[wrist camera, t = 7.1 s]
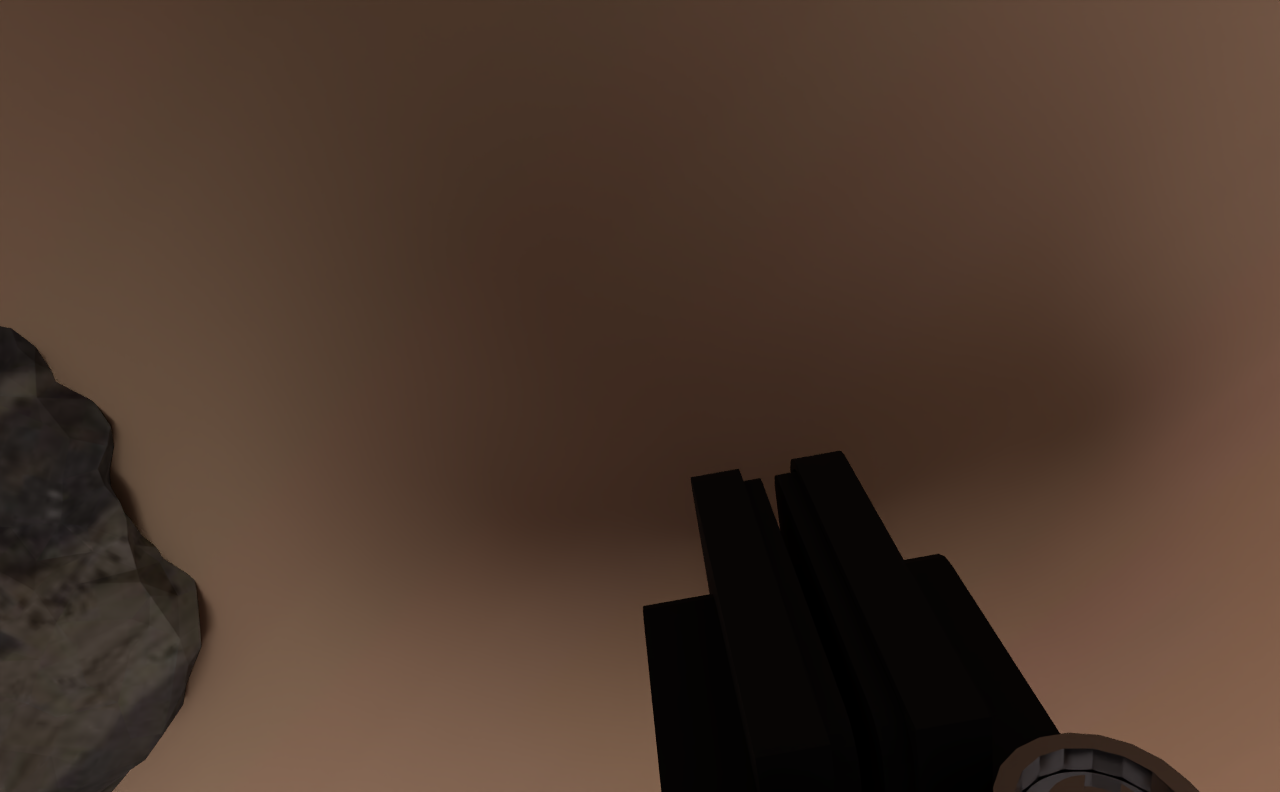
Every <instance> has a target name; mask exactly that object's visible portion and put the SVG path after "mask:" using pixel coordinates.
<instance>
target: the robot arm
mask: <svg viewBox="0 0 1280 792" xmlns="http://www.w3.org/2000/svg"><path fill="white" fill-rule="evenodd" d="M790 470H791V473H786V474H781V475H775V491H776V499H777V507H778V515H779V523H780V529H779V526H778V524H777V521H776V518H775V516H774V513H773V510H772V507H771V505H770V502H769V499H768V497H767V494H766V491H765V489H764V486H763V483H762V481H761V479H760V478H758V479H753V480H747V481H743V479H742V476H741V473H740V470H739V469H735V470H729V471H724V472H718V473H713V474H707V475H702V476H696V477H691V484H692V491H693V497H694V503H695V509H696V515H697V521H698V527H699V532H700V538H701V544H702V550H703V556H704V562H705V568H706V574H707V580H708V586H709V592H710V594H709V595H703V596H698V597H692V598H687V599H681V600H675V601H670V602H664V603H658V604H653V605H647V606H643V616H644V627H645V636H646V646H647V656H648V666H649V675H650V685H651V695H652V705H653V714H654V724H655V734H656V744H657V753H658V763H659V773H660V783H661V792H1199V791H1198V790H1197V789H1196V788H1195V787H1194V786H1193V784H1192V783H1191V782H1190V781H1189V780H1187V779H1186V778H1185V777H1184V776H1182V775H1181V774H1180V773H1179V772H1177V771H1176V770H1175V769H1174V768H1172V767H1171V766H1170V765H1169V764H1167V763H1166V762H1165V761H1164V760H1162V759H1160V758H1158V757H1156V756H1155V755H1153V754H1151V753H1149V752H1147V751H1145V750H1143V749H1141V748H1139V747H1137V746H1135V745H1133V744H1130V743H1127V742H1123V741H1119V740H1116V739H1112V738H1109V737H1105V736H1101V735H1094V734H1079V733H1063V734H1060V733H1059V731H1058V730H1057V728H1056V726H1055V725H1054V723H1053V722H1052V720H1051V719H1050V717H1049V716H1048V714H1047V712H1046V711H1045V709H1044V708H1043V706H1042V705H1041V703H1040V702H1039V700H1038V698H1037V697H1036V695H1035V694H1034V692H1033V691H1032V689H1031V688H1030V686H1029V684H1028V683H1027V681H1026V680H1025V678H1024V677H1023V675H1022V674H1021V672H1020V670H1019V669H1018V667H1017V666H1016V664H1015V663H1014V661H1013V660H1012V658H1011V656H1010V655H1009V653H1008V652H1007V650H1006V649H1005V647H1004V646H1003V644H1002V642H1001V641H1000V639H999V638H998V636H997V635H996V633H995V632H994V630H993V628H992V627H991V625H990V624H989V622H988V621H987V619H986V618H985V616H984V614H983V613H982V611H981V610H980V608H979V607H978V605H977V604H976V602H975V600H974V599H973V597H972V596H971V594H970V593H969V591H968V590H967V588H966V586H965V585H964V583H963V582H962V580H961V579H960V577H959V576H958V574H957V572H956V571H955V569H954V568H953V566H952V565H951V564H950V562H949V561H948V560H947V559H946V557H945V556H942V555H940V554H935V555H929V556H924V557H918V558H912V559H907V560H903V558H902V556H901V554H900V553H899V551H898V549H897V547H896V545H895V544H894V542H893V540H892V538H891V537H890V535H889V533H888V531H887V530H886V528H885V526H884V524H883V522H882V521H881V519H880V517H879V515H878V514H877V512H876V510H875V508H874V507H873V505H872V503H871V501H870V499H869V498H868V496H867V494H866V492H865V491H864V489H863V487H862V485H861V484H860V482H859V480H858V478H857V476H856V475H855V473H854V471H853V469H852V468H851V466H850V464H849V462H848V461H847V459H846V457H845V455H844V454H843V453H842V451H836V452H830V453H824V454H819V455H813V456H808V457H802V458H797V459H791V465H790Z"/></svg>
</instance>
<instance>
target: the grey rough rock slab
mask: <svg viewBox="0 0 1280 792" xmlns="http://www.w3.org/2000/svg"><path fill="white" fill-rule="evenodd" d="M113 448H114V445H113V439H112V432H111V426H110V424H109V423H108V421H107V420H106V419H105V417H104V416H103V414H102V413H101V411H100V410H99V409H98V407H97V406H96V404H95V403H94V402H93V401H91V400H90V399H88V398H86V397H84V396H82V395H80V394H78V393H76V392H74V391H72V390H70V389H68V388H67V387H65V386H63V385H61V384H59V383H57V382H56V381H55V378H54V376H53V373H52V371H51V369H50V368H49V366H48V365H47V364H46V362H45V361H44V359H43V358H42V356H41V355H40V353H39V352H38V350H37V349H36V347H35V346H34V345H32V344H31V343H30V342H28V341H27V340H26V339H25V338H23V337H22V336H21V335H19V334H18V333H17V332H15V331H14V330H13V329H11V328H6V327H1V326H0V792H112V791H113V790H114V789H115V787H116V786H117V785H118V784H119V783H120V782H121V780H122V779H123V778H124V777H125V776H126V774H127V773H128V772H129V770H131V769H132V768H134V767H135V766H137V765H138V764H139V763H141V762H142V761H144V760H145V759H146V758H147V756H148V755H149V754H150V752H151V751H152V749H153V748H154V747H155V745H156V744H157V742H158V741H159V739H160V738H161V737H162V735H163V734H164V732H165V731H166V729H167V728H168V726H169V725H170V723H171V722H172V720H173V719H174V717H175V716H176V714H177V713H178V711H179V710H180V708H181V707H182V705H183V702H184V695H185V689H186V684H187V681H188V678H189V676H190V673H191V671H192V668H193V666H194V663H195V661H196V658H197V656H198V653H199V651H200V648H201V634H200V619H199V608H198V599H197V591H196V585H195V580H194V579H193V578H191V577H190V576H189V575H188V574H187V573H185V572H184V571H182V570H181V569H179V568H177V567H176V566H174V565H173V564H171V563H170V562H168V561H167V560H165V559H164V558H162V556H161V554H160V553H159V551H158V549H157V548H156V547H155V546H154V545H153V544H152V543H150V542H149V541H148V540H147V539H145V538H144V537H143V536H142V535H141V534H140V533H139V531H138V530H137V528H136V527H135V525H134V524H133V522H132V521H131V519H130V518H129V517H128V516H127V515H126V514H125V513H124V512H123V509H122V506H121V504H120V502H119V500H118V498H117V497H116V495H115V493H114V492H113V490H112V488H111V485H110V474H109V470H110V464H111V459H112V454H113Z"/></svg>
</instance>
